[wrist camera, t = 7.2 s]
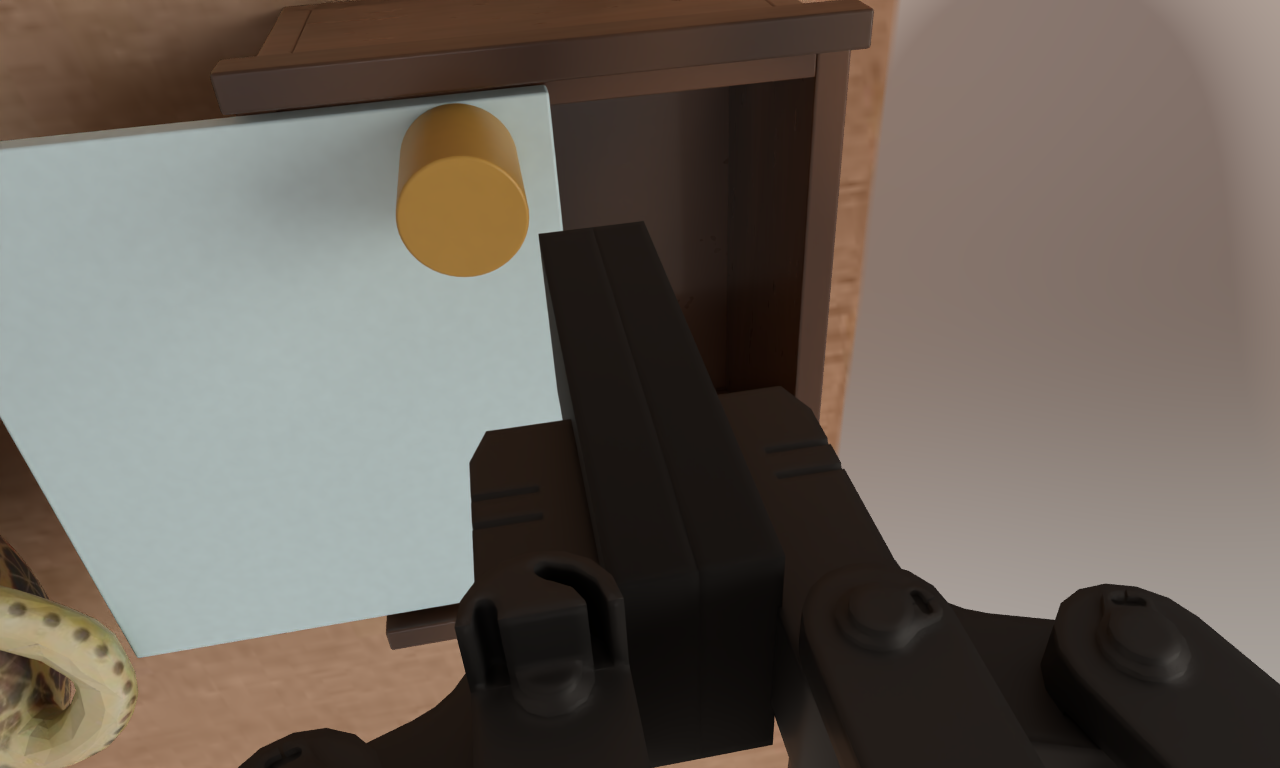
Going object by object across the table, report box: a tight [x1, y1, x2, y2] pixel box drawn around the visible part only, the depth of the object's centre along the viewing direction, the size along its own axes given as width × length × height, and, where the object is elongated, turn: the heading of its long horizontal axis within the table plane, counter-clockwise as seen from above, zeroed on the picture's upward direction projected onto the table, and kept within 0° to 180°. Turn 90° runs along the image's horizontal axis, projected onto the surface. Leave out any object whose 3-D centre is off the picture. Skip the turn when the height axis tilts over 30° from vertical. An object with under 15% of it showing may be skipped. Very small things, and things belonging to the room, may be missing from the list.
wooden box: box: [210, 0, 874, 650], centre depth 26 cm, size 13×17×9 cm
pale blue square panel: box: [0, 85, 563, 658], centre depth 21 cm, size 13×14×4 cm
